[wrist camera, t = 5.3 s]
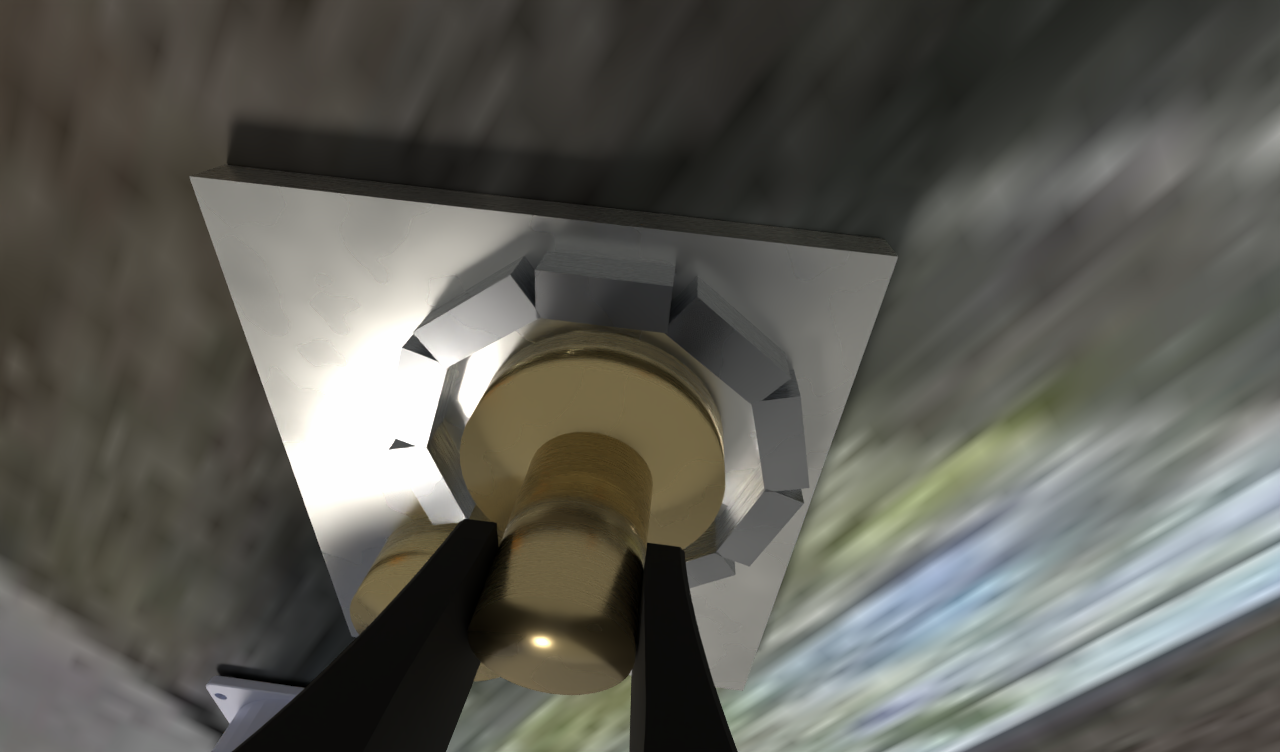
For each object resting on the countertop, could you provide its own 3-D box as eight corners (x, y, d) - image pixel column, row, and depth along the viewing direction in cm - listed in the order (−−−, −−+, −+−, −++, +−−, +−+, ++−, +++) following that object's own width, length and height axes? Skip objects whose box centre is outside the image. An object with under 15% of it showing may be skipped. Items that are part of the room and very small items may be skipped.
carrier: (741, 662, 20) (748, 790, 17) (365, 611, 21) (301, 726, 17) (884, 238, 12) (958, 332, 8) (224, 164, 12) (41, 224, 9)
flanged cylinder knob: (668, 547, 16) (654, 766, 11) (462, 480, 15) (358, 684, 11) (768, 387, 13) (805, 603, 8) (511, 292, 12) (391, 469, 7)
